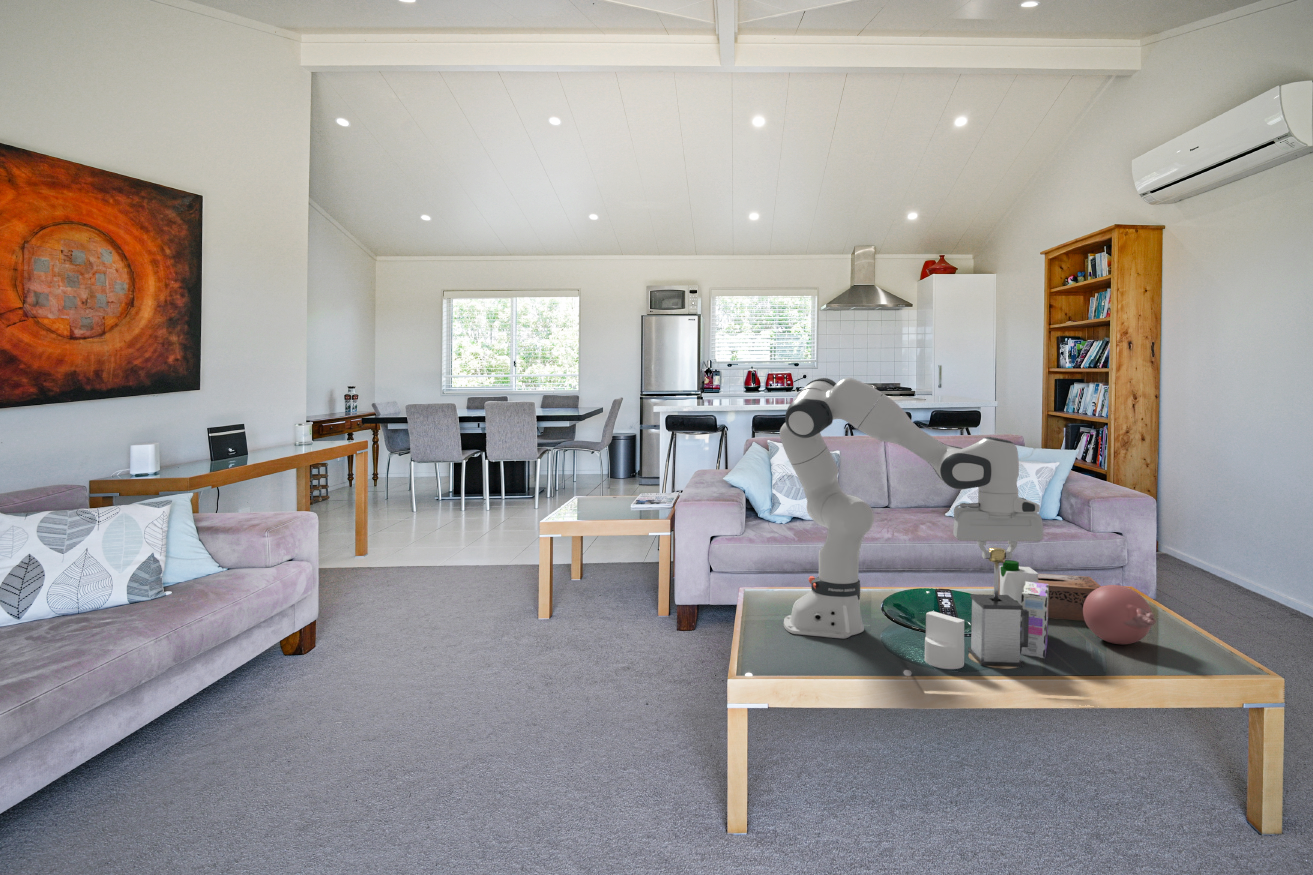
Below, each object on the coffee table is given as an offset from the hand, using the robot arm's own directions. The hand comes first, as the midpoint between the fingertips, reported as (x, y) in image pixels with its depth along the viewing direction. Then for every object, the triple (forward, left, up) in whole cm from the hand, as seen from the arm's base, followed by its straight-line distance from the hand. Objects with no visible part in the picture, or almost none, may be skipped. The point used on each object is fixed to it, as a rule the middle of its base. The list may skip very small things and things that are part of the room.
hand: (996, 558), depth 169 cm
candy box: (+13, +9, -26) cm, 31 cm away
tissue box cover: (+31, +43, -26) cm, 59 cm away
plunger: (0, 0, -14) cm, 14 cm away
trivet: (0, 0, -26) cm, 26 cm away
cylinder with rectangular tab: (-13, -3, -26) cm, 29 cm away
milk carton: (+14, +22, -26) cm, 37 cm away
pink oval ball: (+37, +14, -26) cm, 47 cm away
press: (+1, 0, -25) cm, 25 cm away
